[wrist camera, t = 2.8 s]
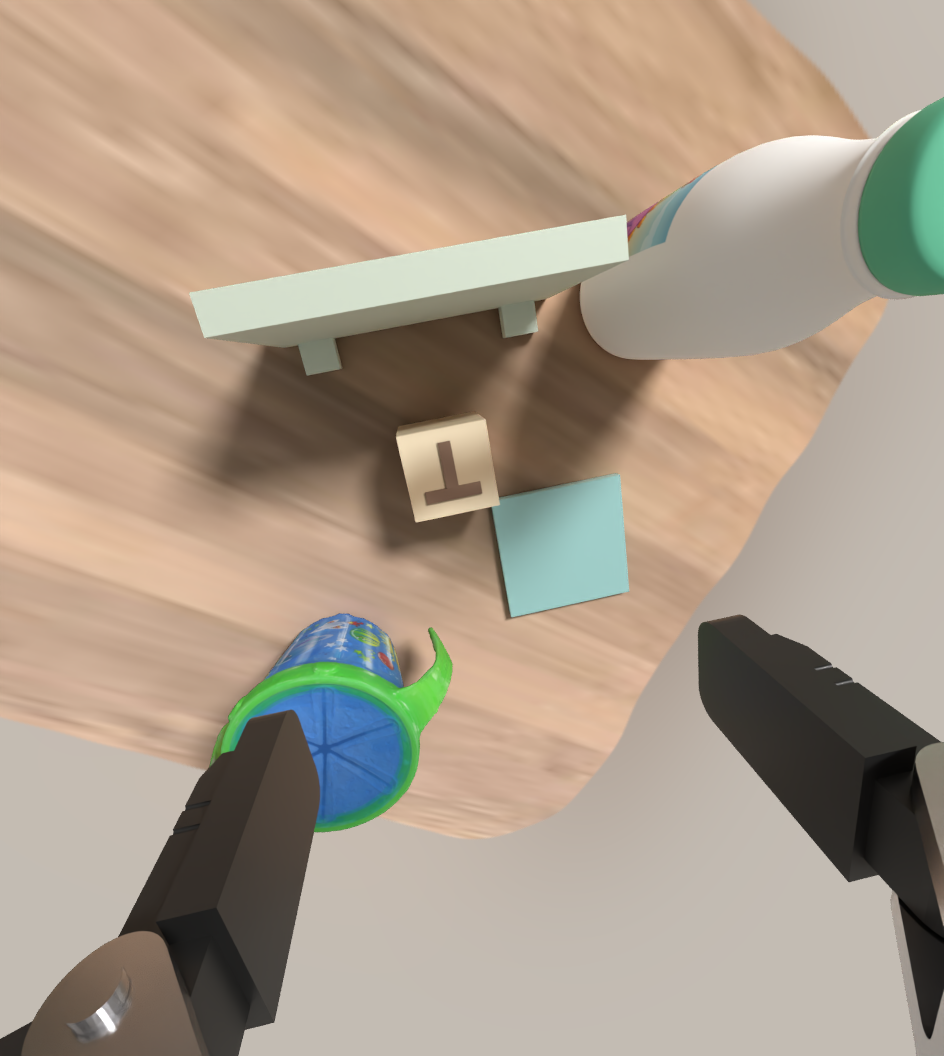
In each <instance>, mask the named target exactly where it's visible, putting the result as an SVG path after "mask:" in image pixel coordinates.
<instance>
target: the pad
mask: <svg viewBox="0 0 944 1056" xmlns="http://www.w3.org/2000/svg"><path fill="white" fill-rule="evenodd" d="M499 502H500V505H498V506H493V507H491V508H492V514H493V520H494V525H495V531H496V537H497V543H498V548H499V554H500V560H501V566H502V571H503V577H504V583H505V589H506V594H507V600H508V606H509V612H510V615H511V617H516V616H520V615H525V614H529V613H534V612H538V611H543V610H548V609H552V608H557V607H561V606H566V605H570V604H575V603H579V602H584V601H588V600H593V599H597V598H602V597H606V596H611V595H615V594H620V593H624V592H629V584H628V571H627V559H626V546H625V533H624V521H623V508H622V495H621V483H620V475H619V474H617V473H615V474H610V475H605V476H600V477H595V478H591V479H586V480H581V481H576V482H571V483H567V484H562V485H557V486H552V487H547V488H543V489H538V490H533V491H528V492H523V493H519V494H514V495H509V496H504V497H499Z"/></svg>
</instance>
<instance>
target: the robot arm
mask: <svg viewBox="0 0 944 1056" xmlns="http://www.w3.org/2000/svg"><path fill="white" fill-rule="evenodd" d="M698 661H699V662H698V664H699V665H698V667H699V691H700V696H701V700H702V703H703V705H704V707H705V709H706V712H707V713H708V715H709V717H710V718H711V719H712V721H713V722H714V723H715V724H716V726H717V727H718V728H719V729H720V730H721V731H722V733H723V734H724V735H725V736H726V737H727V738H728V740H729V741H730V742H731V743H732V744H733V746H734V747H735V748H736V749H737V750H738V752H739V753H740V754H741V755H742V756H743V757H744V759H745V760H746V761H747V762H748V763H749V765H750V766H751V767H752V768H753V769H754V771H755V772H756V773H757V774H758V775H759V776H760V778H761V779H762V780H763V781H764V782H765V784H766V785H767V786H768V787H769V788H770V789H771V791H772V792H773V793H774V794H775V795H776V797H777V798H778V799H779V800H780V801H781V803H782V804H783V805H784V806H785V807H786V808H787V810H788V811H789V812H790V813H791V814H792V815H793V817H794V818H795V819H796V820H797V821H798V823H799V824H800V825H801V826H802V827H803V829H804V830H805V831H806V832H807V833H808V835H809V836H810V837H811V838H812V839H813V841H814V842H815V843H816V844H817V845H818V846H819V848H820V849H821V850H822V851H823V852H824V854H825V855H826V856H827V857H828V858H829V860H830V861H831V862H832V863H833V864H834V865H835V867H836V868H837V869H838V870H839V871H840V873H841V874H842V875H843V876H844V877H845V878H846V880H847V881H848V882H852V881H855V880H860V879H863V878H868V877H871V876H875V875H879V876H880V877H881V878H882V879H883V880H884V881H885V882H886V883H887V884H888V885H889V887H890V888H891V889H892V895H891V910H892V916H893V921H894V927H895V933H896V939H897V944H898V950H899V955H900V961H901V967H902V973H903V978H904V984H905V990H906V996H907V1001H908V1007H909V1013H910V1018H911V1024H912V1030H913V1036H914V1041H915V1047H916V1055H917V1056H944V742H940V741H939V740H938V739H936V738H935V737H933V736H932V735H931V734H929V733H928V732H926V731H925V730H924V729H922V728H921V727H919V726H918V725H916V724H915V723H914V722H912V721H911V720H910V719H908V718H907V717H905V716H904V715H903V714H901V713H900V712H898V711H897V710H896V709H894V708H893V707H891V706H890V705H889V704H887V703H886V702H884V701H883V700H881V699H880V698H879V697H877V696H876V695H875V694H873V693H872V692H870V691H869V690H868V689H866V688H865V687H863V686H862V685H861V684H859V683H854V682H853V680H852V678H851V677H849V676H848V675H847V674H845V673H844V672H842V671H841V670H840V669H838V668H833V667H832V664H831V663H830V662H828V661H827V660H825V659H824V658H823V657H821V656H820V655H818V654H817V653H816V652H814V651H813V650H812V649H810V648H809V647H807V646H805V645H803V644H800V643H797V642H795V641H793V640H790V639H788V638H785V637H783V636H780V635H778V634H774V635H770V634H768V633H767V632H766V631H764V630H763V629H762V628H760V627H759V626H758V625H756V624H755V623H754V622H752V621H751V620H750V619H748V618H747V617H745V616H743V615H735V616H731V617H726V618H722V619H717V620H712V621H707V622H703V623H701V625H700V626H699V630H698ZM319 804H320V784H319V777H318V772H317V769H316V766H315V763H314V760H313V757H312V755H311V752H310V749H309V746H308V743H307V740H306V737H305V735H304V732H303V729H302V726H301V723H300V720H299V718H298V716H297V714H296V712H295V711H294V710H286V711H282V712H277V713H272V714H268V715H263V716H258V717H254V718H251V719H249V721H248V722H247V724H246V726H245V728H244V730H243V732H242V734H241V736H240V739H239V741H238V743H237V745H236V747H235V750H234V751H230V752H225V753H222V754H221V755H220V756H219V757H218V759H217V760H216V761H215V762H214V763H213V764H212V765H211V766H210V767H209V768H208V770H207V771H206V772H205V773H204V774H203V775H202V776H201V777H200V778H199V780H198V782H197V784H196V786H195V788H194V790H193V792H192V794H191V796H190V798H189V800H188V802H187V803H186V805H185V807H186V810H185V811H183V812H182V813H181V815H180V817H179V819H178V821H177V823H176V825H175V827H174V829H173V831H174V833H173V835H171V836H170V837H169V839H168V841H167V843H166V845H165V847H164V848H163V850H162V852H161V854H160V856H159V858H158V860H157V862H156V864H155V866H154V868H153V870H152V872H151V874H150V876H149V878H148V880H147V882H146V884H145V886H144V888H143V890H142V892H141V893H140V895H139V897H138V899H137V901H136V903H135V905H134V907H133V909H132V911H131V913H130V915H129V917H128V919H127V921H126V923H125V925H124V927H123V929H122V931H121V933H120V935H119V936H118V938H116V939H113V940H112V941H110V942H108V943H106V944H104V945H103V946H101V947H100V948H98V949H97V950H95V951H94V952H92V953H91V954H90V955H88V956H87V957H86V958H85V959H83V960H82V961H81V962H80V963H79V964H77V965H76V966H75V967H74V968H73V969H72V970H71V971H70V972H69V973H68V974H67V975H66V976H65V977H64V978H63V979H62V980H61V982H60V983H59V984H58V985H57V986H56V987H55V989H54V990H53V991H52V992H51V994H50V995H49V996H48V997H47V999H46V1000H45V1002H44V1003H43V1005H42V1006H41V1008H40V1009H39V1011H38V1012H37V1014H36V1016H35V1018H34V1020H33V1021H32V1022H30V1023H29V1024H27V1025H25V1026H23V1027H21V1028H19V1029H18V1030H16V1031H14V1032H12V1033H10V1034H9V1035H7V1036H5V1037H3V1038H1V1039H0V1056H238V1055H239V1050H240V1047H241V1042H242V1039H243V1035H244V1031H245V1030H246V1029H250V1028H254V1027H258V1026H262V1025H266V1024H270V1023H274V1021H275V1016H276V1011H277V1006H278V1002H279V997H280V992H281V987H282V982H283V978H284V973H285V968H286V963H287V959H288V953H289V949H290V944H291V939H292V934H293V930H294V925H295V920H296V915H297V910H298V906H299V901H300V896H301V892H302V887H303V882H304V877H305V872H306V867H307V862H308V858H309V853H310V848H311V843H312V838H313V834H314V829H315V824H316V819H317V815H318V810H319Z"/></svg>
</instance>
